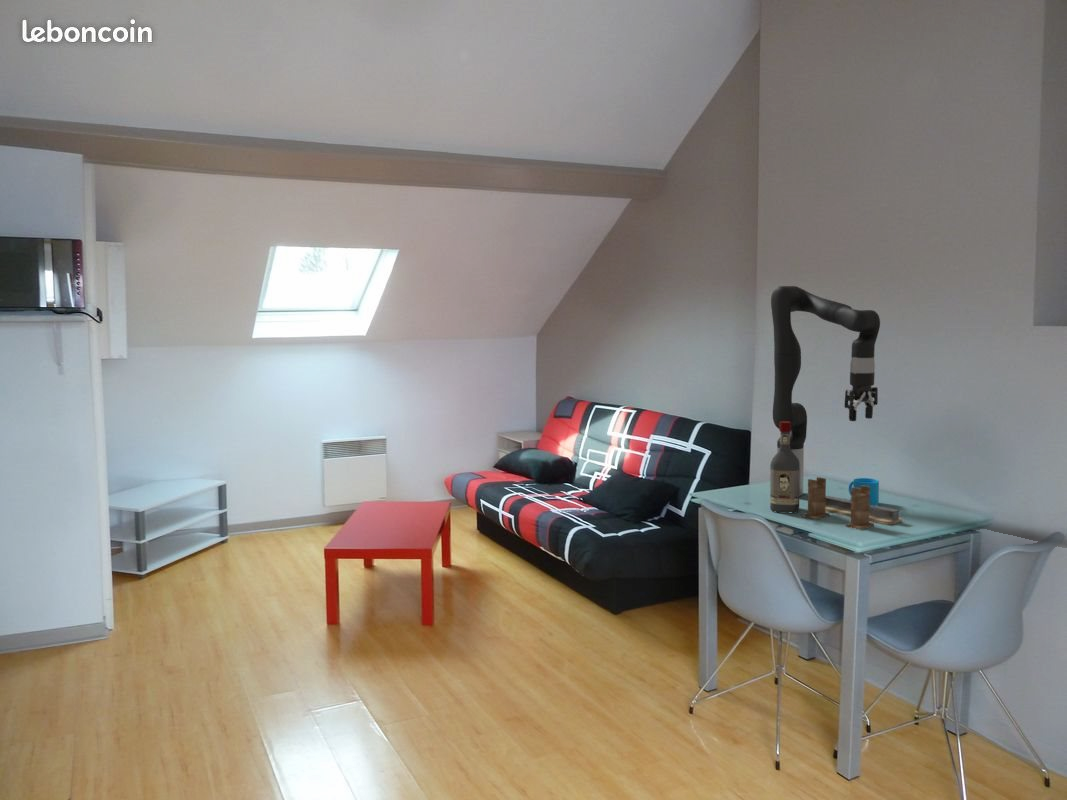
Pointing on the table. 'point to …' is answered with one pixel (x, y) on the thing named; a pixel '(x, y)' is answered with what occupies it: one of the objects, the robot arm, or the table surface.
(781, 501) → the liquor
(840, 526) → the table surface
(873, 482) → the mug
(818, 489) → the post
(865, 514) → the post
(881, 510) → the rail
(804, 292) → the robot arm
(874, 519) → the mat
